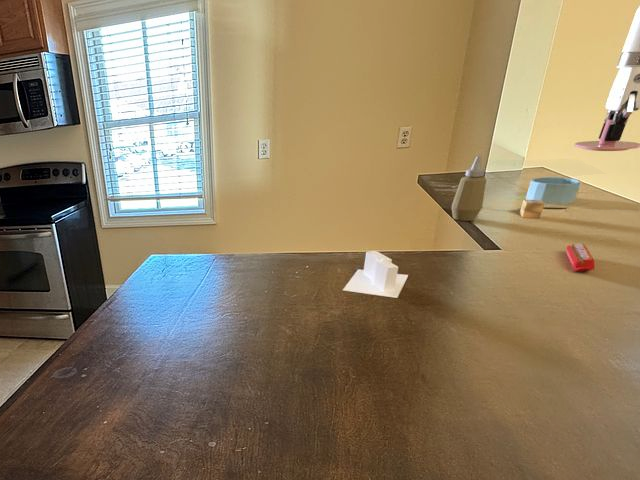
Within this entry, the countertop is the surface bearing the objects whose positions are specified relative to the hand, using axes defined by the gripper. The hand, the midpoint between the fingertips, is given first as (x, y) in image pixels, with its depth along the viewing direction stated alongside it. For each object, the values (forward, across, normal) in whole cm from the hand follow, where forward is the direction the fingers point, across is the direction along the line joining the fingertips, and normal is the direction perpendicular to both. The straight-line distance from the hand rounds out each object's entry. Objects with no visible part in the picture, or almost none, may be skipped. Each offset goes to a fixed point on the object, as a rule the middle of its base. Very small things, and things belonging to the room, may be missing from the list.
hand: (608, 139), depth 129 cm
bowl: (+21, +18, +4) cm, 28 cm away
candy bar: (+22, -43, +11) cm, 49 cm away
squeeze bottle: (+22, -4, +30) cm, 37 cm away
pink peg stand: (+2, 0, 0) cm, 2 cm away
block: (+21, +2, +12) cm, 24 cm away
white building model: (+22, -65, +53) cm, 87 cm away
